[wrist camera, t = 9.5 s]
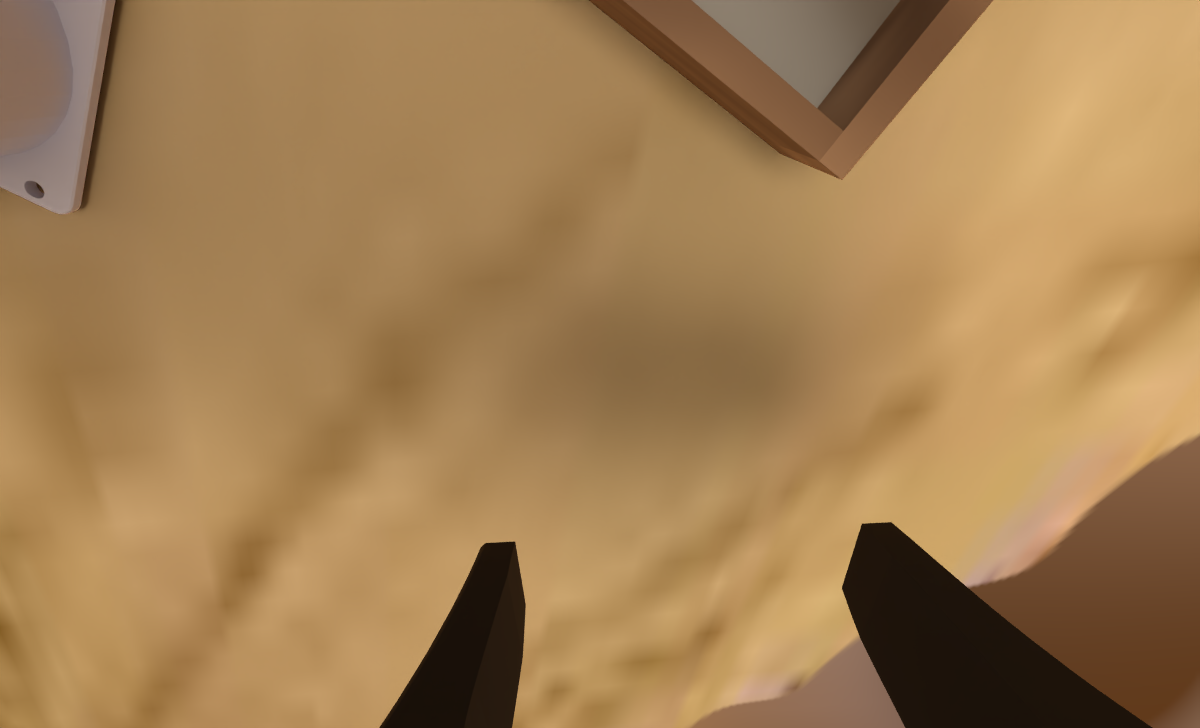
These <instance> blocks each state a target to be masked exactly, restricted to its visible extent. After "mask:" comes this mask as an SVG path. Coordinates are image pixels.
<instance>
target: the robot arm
mask: <svg viewBox="0 0 1200 728" xmlns="http://www.w3.org/2000/svg"><path fill="white" fill-rule="evenodd" d="M114 6H115V0H0V187H1V188H3V189H5V190H7V191H9V192H12V193H14V194H16V195H18V196H20V197H22V198H24V199H26V200H28V201H31V202H33V203H35V204H37V205H39V206H41V207H43V208H45V209H47V210H49V211H52V212H54V213H57V214H68V213H72V212H75V211H77V210H78V209H79V208H80V206H81V201H82V195H83V189H84V183H85V177H86V171H87V166H88V160H89V154H90V148H91V142H92V136H93V130H94V124H95V118H96V112H97V106H98V100H99V94H100V88H101V83H102V77H103V71H104V65H105V59H106V53H107V47H108V41H109V35H110V29H111V23H112V17H113V11H114ZM36 183H38V184H39V185H40V186H41V187H42V188H43V190H44V193H42V192H41V191H40V190H39V189H38V187H37V185H36ZM842 590H843V592H844V595H845V598H846V601H847V604H848V606H849V609H850V612H851V615H852V618H853V620H854V623H855V625H856V628H857V631H858V633H859V636H860V638H861V640H862V642H863V644H864V647H865V648H866V650H867V653H868V655H869V657H870V659H871V661H872V662H873V665H874V667H875V669H876V671H877V673H878V675H879V677H880V679H881V681H882V683H883V685H884V687H885V688H886V690H887V693H888V694H889V696H890V698H891V700H892V702H893V704H894V706H895V708H896V710H897V712H898V714H899V716H900V718H901V720H902V722H903V724H904V726H905V728H1152V727H1150V726H1149V725H1147V724H1146V723H1145V722H1143V721H1142V720H1140V719H1139V718H1137V717H1136V716H1135V715H1133V714H1132V713H1130V712H1129V711H1127V710H1126V709H1125V708H1123V707H1122V706H1120V705H1119V704H1117V703H1116V702H1114V701H1113V700H1112V699H1110V698H1109V697H1107V696H1106V695H1104V694H1103V693H1102V692H1100V691H1099V690H1097V689H1096V688H1095V687H1093V686H1092V685H1090V684H1089V683H1088V682H1086V681H1085V680H1084V679H1082V678H1081V677H1079V676H1078V675H1077V674H1075V673H1074V672H1073V671H1071V670H1070V669H1069V668H1067V667H1066V666H1065V665H1063V664H1062V663H1061V662H1060V661H1058V660H1057V659H1056V658H1054V657H1053V656H1052V655H1050V654H1049V653H1048V652H1047V651H1045V650H1044V649H1043V648H1041V647H1040V646H1039V645H1037V644H1036V643H1035V642H1033V641H1032V640H1031V639H1030V638H1028V637H1027V636H1026V635H1025V634H1023V633H1022V632H1021V631H1020V630H1018V629H1017V628H1016V627H1014V626H1013V625H1012V624H1011V623H1010V622H1008V621H1007V620H1006V619H1005V618H1003V617H1002V616H1001V615H1000V614H998V613H997V612H996V611H995V610H994V609H992V608H991V607H990V606H989V605H988V604H986V603H985V602H984V601H983V600H982V599H980V598H979V597H978V596H977V595H975V594H974V593H973V592H972V591H971V590H970V589H968V588H967V587H966V586H965V585H964V584H963V583H961V582H960V581H959V580H958V579H957V578H956V577H954V576H953V575H952V574H951V573H950V572H949V571H947V570H946V569H945V568H944V567H943V566H942V565H940V564H939V563H938V562H937V561H936V560H935V559H933V558H932V557H931V556H930V555H929V554H928V553H927V552H925V551H924V550H923V549H922V548H921V547H920V546H918V545H917V544H916V543H915V542H914V541H913V540H911V539H910V538H909V537H908V536H907V535H906V534H904V533H903V532H902V531H901V530H900V529H899V528H897V527H896V526H895V525H894V524H893V523H891V522H888V523H868V524H862V525H861V529H860V532H859V535H858V538H857V541H856V545H855V548H854V551H853V554H852V557H851V560H850V564H849V567H848V570H847V573H846V576H845V580H844V583H843V586H842ZM525 606H526V604H525V598H524V592H523V586H522V580H521V574H520V568H519V562H518V556H517V550H516V544H515V542H499V543H485V544H484V545H483V546H482V547H481V548H480V551H479V553H478V555H477V558H476V560H475V562H474V564H473V567H472V569H471V571H470V573H469V575H468V577H467V579H466V581H465V583H464V585H463V587H462V589H461V591H460V593H459V595H458V597H457V599H456V601H455V603H454V605H453V607H452V609H451V611H450V613H449V614H448V616H447V618H446V620H445V622H444V623H443V625H442V627H441V629H440V631H439V632H438V634H437V636H436V638H435V640H434V641H433V643H432V645H431V647H430V648H429V650H428V652H427V654H426V655H425V657H424V659H423V660H422V662H421V663H420V665H419V667H418V668H417V670H416V672H415V673H414V675H413V676H412V678H411V680H410V681H409V683H408V684H407V686H406V688H405V689H404V691H403V693H402V694H401V696H400V697H399V699H398V701H397V702H396V704H395V705H394V707H393V708H392V710H391V711H390V713H389V714H388V716H387V717H386V719H385V720H384V722H383V723H382V725H381V726H380V728H512V724H513V717H514V711H515V705H516V698H517V691H518V685H519V678H520V672H521V665H522V658H523V643H524V626H525Z"/></svg>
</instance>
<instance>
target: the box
mask: <svg viewBox="0 0 1200 728" xmlns="http://www.w3.org/2000/svg"><path fill="white" fill-rule="evenodd" d="M589 1H591V2H592V3H593V4H594V5H596V6H597V7H598V8H599V9H601V10H602V11H603V12H604V13H606V14H607V15H608V16H609V17H611V18H612V19H613V20H614V21H616V22H617V23H618V24H619V25H621V26H622V27H623V28H624V29H626V30H627V31H628V32H629V33H631V34H632V35H633V36H634V37H636V38H637V39H638V40H639V41H641V42H642V43H643V44H644V45H646V46H647V47H648V48H649V49H651V50H652V51H653V52H654V53H655V54H657V55H658V56H659V57H660V58H662V59H663V60H664V61H665V62H667V63H668V64H669V65H670V66H672V67H673V68H674V69H675V70H677V71H678V72H679V73H680V74H682V75H683V76H684V77H685V78H687V79H688V80H689V81H690V82H692V83H693V84H694V85H695V86H697V87H698V88H699V89H700V90H702V91H703V92H704V93H705V94H707V95H708V96H709V97H710V98H712V99H713V100H714V101H715V102H717V103H718V104H719V105H720V106H722V107H723V108H724V109H725V110H727V111H728V112H729V113H730V114H732V115H733V116H734V117H735V118H737V119H738V120H739V121H740V122H742V123H743V124H744V125H745V126H747V127H748V128H749V129H750V130H752V131H753V132H754V133H755V134H757V135H758V136H759V137H760V138H762V139H763V140H764V141H765V142H767V143H768V144H769V145H770V146H772V147H773V148H774V149H775V150H777V151H778V152H779V153H780V154H783V155H785V156H787V157H790V158H792V159H794V160H797V161H799V162H801V163H804V164H806V165H808V166H811V167H813V168H815V169H818V170H820V171H822V172H825V173H827V174H829V175H832V176H834V177H836V178H839V179H841V180H842V179H843V178H844V177H845V176H846V175H847V174H848V172H849V171H850V170H851V169H852V168H853V166H854V165H855V164H856V163H857V162H858V160H859V159H860V158H861V157H862V156H863V154H864V153H865V152H866V151H867V150H868V149H869V147H870V146H871V145H872V144H873V143H874V141H875V140H876V139H877V138H878V137H879V135H880V134H881V133H882V132H883V131H884V130H885V128H886V127H887V126H888V125H889V124H890V122H891V121H892V120H893V119H894V118H895V116H896V115H897V114H898V113H899V112H900V110H901V109H902V108H903V107H904V106H905V105H906V103H907V102H908V101H909V100H910V99H911V97H912V96H913V95H914V94H915V93H916V91H917V90H918V89H919V88H920V87H921V86H922V84H923V83H924V82H925V81H926V80H927V78H928V77H929V76H930V75H931V74H932V72H933V71H934V70H935V69H936V68H937V67H938V65H939V64H940V63H941V62H942V61H943V59H944V58H945V57H946V56H947V55H948V53H949V52H950V51H951V50H952V49H953V47H954V46H955V45H956V44H957V43H958V42H959V40H960V39H961V38H962V37H963V36H964V34H965V33H966V32H967V31H968V30H969V28H970V27H971V26H972V25H973V24H974V23H975V21H976V20H977V19H978V18H979V17H980V15H981V14H982V13H983V12H984V11H985V9H986V8H987V7H988V6H989V5H990V4H991V2H992V1H993V0H589Z"/></svg>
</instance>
